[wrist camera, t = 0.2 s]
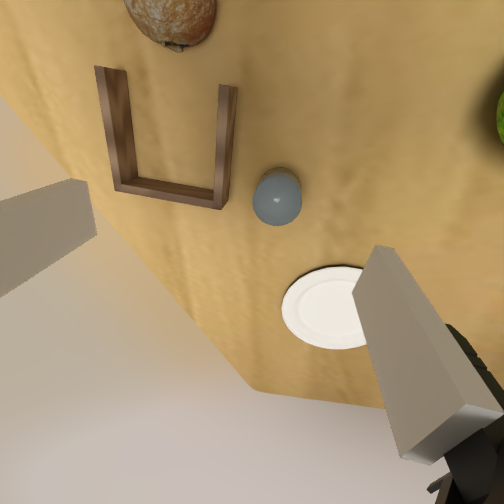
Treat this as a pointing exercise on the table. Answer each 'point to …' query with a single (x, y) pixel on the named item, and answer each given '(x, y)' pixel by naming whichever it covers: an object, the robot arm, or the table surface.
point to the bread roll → (173, 20)
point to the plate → (325, 308)
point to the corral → (123, 148)
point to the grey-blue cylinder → (278, 197)
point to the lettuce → (500, 117)
